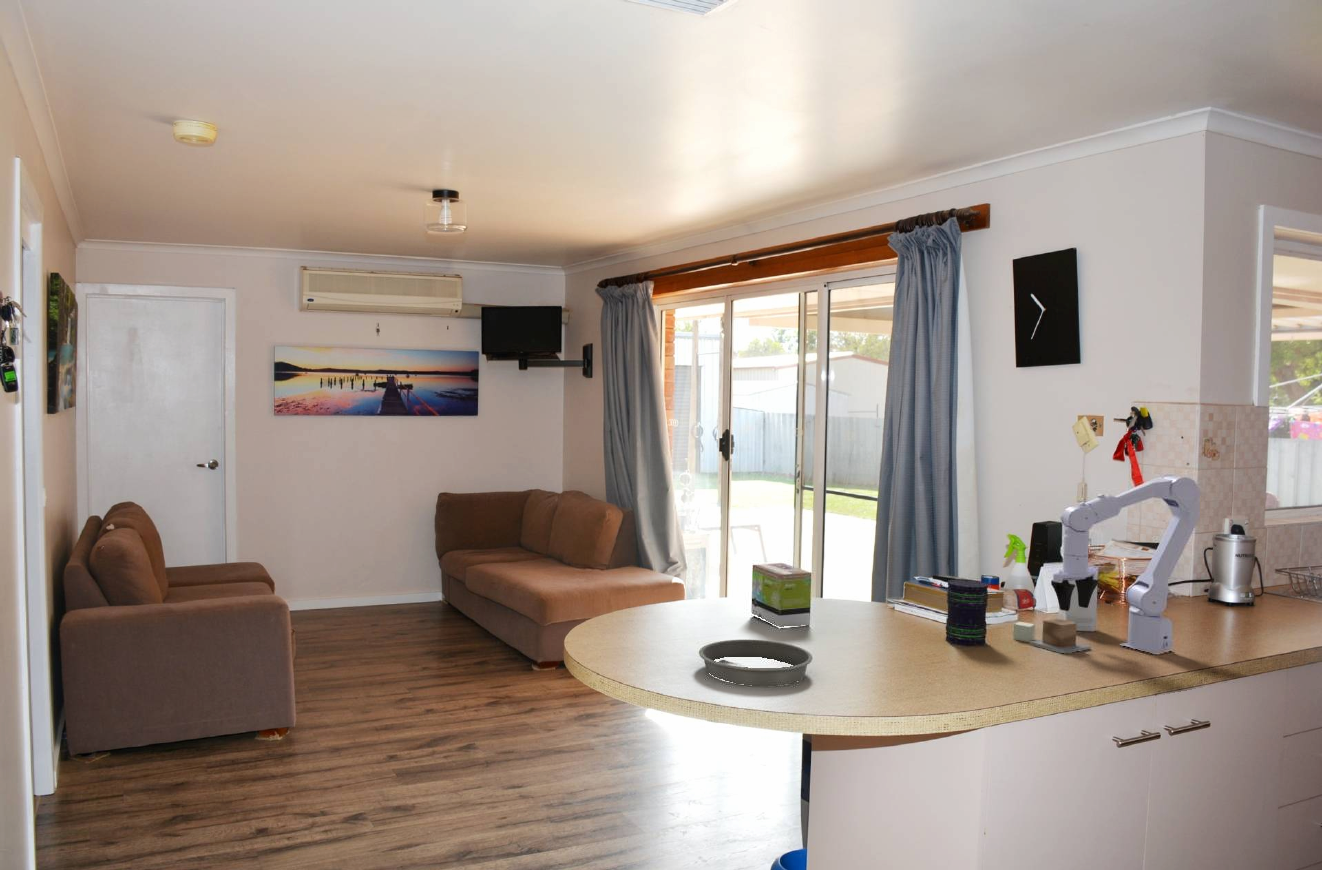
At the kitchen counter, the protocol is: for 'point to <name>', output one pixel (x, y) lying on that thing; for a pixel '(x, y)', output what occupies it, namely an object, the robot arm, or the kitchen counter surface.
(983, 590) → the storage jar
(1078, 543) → the robot arm
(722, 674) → the cake pan
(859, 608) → the kitchen counter surface
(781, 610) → the tea box
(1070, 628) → the walnut block
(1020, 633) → the sage block
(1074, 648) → the coaster
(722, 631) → the kitchen counter surface
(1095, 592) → the skincare box
